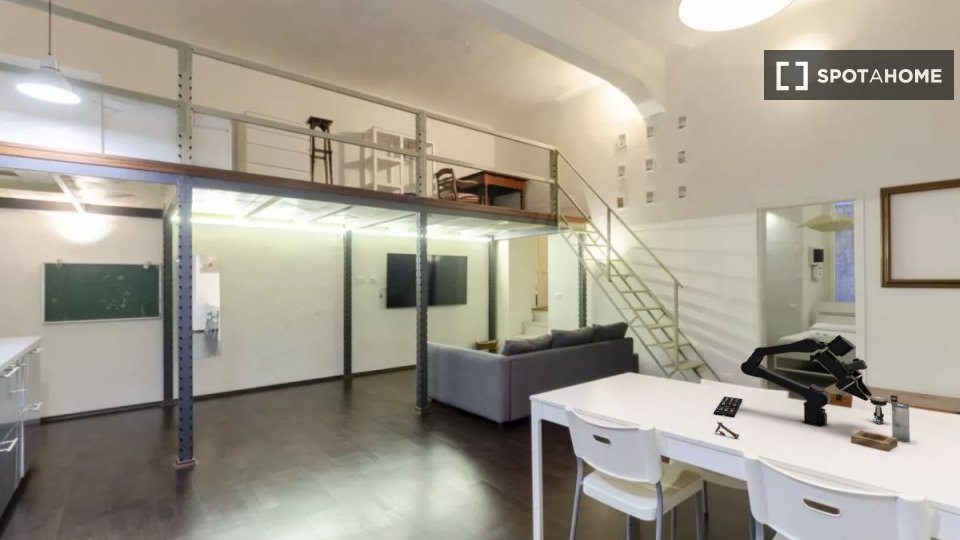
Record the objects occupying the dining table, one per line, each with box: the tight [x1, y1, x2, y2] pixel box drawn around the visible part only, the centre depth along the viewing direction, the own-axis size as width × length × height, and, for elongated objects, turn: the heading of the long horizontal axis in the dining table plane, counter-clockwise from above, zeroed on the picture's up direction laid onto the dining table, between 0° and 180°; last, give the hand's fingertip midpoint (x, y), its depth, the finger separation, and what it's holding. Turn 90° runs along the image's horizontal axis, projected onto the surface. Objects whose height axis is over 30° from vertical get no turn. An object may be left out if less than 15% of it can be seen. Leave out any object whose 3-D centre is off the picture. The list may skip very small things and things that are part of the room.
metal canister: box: [890, 401, 911, 443], centre depth 161 cm, size 5×5×13 cm
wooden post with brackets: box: [714, 421, 740, 440], centre depth 166 cm, size 2×8×4 cm, turn 36°
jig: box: [850, 429, 899, 452], centre depth 157 cm, size 10×10×2 cm
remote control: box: [713, 396, 743, 418], centre depth 202 cm, size 8×32×2 cm, turn 144°
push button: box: [869, 396, 888, 425], centre depth 180 cm, size 7×5×10 cm
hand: (869, 398), depth 168 cm, fingers open, 9 cm apart
